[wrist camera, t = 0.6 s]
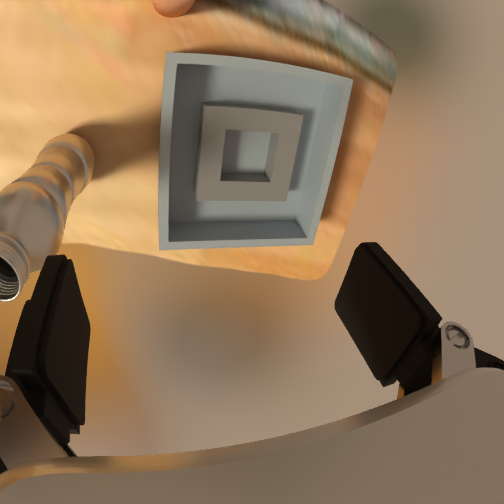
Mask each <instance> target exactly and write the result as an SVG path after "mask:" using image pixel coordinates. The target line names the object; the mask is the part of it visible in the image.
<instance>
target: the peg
mask: <svg viewBox="0 0 504 504" xmlns="http://www.w3.org/2000/svg"><path fill="white" fill-rule="evenodd" d="M194 2H195V0H153V4H154V7H155V9H156V11H157V12H158V13H159V14H161V15H163V16H165V17H178V16H181V15H183V14H185V13H186V12H188V11H189V10H190V9H191V7H192V5H193V4H194Z"/></svg>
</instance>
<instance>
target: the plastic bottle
mask: <svg viewBox="0 0 504 504" xmlns="http://www.w3.org/2000/svg"><path fill="white" fill-rule="evenodd" d="M93 170H94V154H93V151H92V148H91V146H90V145H89V143H88V142H87V141H86V140H85V139H84V138H82V137H81V136H79V135H76V134H63V135H60V136H57V137H54V138H53V139H51V140H50V141H48V142H47V143H46V144H45V146H44V147H43V148H42V150H41V152H40V153H39V155H38V157H37V159H36V161H35V162H34V164H33V165H32V166H31V168H30V169H29V170H27V171H26V172H25V173H24V174H23V175H22V176H21V177H19V178H18V179H16V180H15V181H13V182H12V183H11V184H9V185H8V186H6V187H5V188H4V189H2V190H1V191H0V301H3V302H8V301H12V300H14V299H16V298H17V297H18V295H19V294H20V292H21V290H22V288H23V285H24V284H25V283H26V281H27V279H28V277H29V275H30V273H32V272H35V271H38V270H40V269H42V267H43V264H44V262H45V259H46V257H47V256H48V255H56V254H57V253H58V251H59V248H60V246H61V242H62V239H63V234H64V229H65V224H66V219H67V215H68V212H69V210H70V207H71V205H72V203H73V201H74V200H75V198H76V197H77V196H78V195H79V194H80V193H81V192H82V191H83V190H84V189H85V187H86V186H87V185H88V184H89V182H90V180H91V178H92V175H93Z"/></svg>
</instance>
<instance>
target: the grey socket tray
mask: <svg viewBox="0 0 504 504" xmlns="http://www.w3.org/2000/svg"><path fill="white" fill-rule="evenodd" d="M353 80H354V79H350V78H347V77H343V76H339V75H335V74H331V73H327V72H323V71H318V70H314V69H309V68H304V67H300V66H294V65H289V64H284V63H278V62H272V61H265V60H258V59H251V58H243V57H234V56H224V55H212V54H198V53H171V52H167V53H166V62H165V72H164V82H163V94H162V108H161V125H160V146H159V189H158V212H159V250H180V249H207V248H236V247H265V246H295V245H313V243H314V239H315V236H316V232H317V228H318V225H319V221H320V218H321V214H322V210H323V206H324V203H325V199H326V195H327V191H328V187H329V184H330V180H331V176H332V172H333V168H334V164H335V160H336V156H337V151H338V147H339V143H340V139H341V135H342V130H343V126H344V122H345V117H346V113H347V108H348V103H349V99H350V94H351V89H352V84H353Z"/></svg>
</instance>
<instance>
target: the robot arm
mask: <svg viewBox="0 0 504 504" xmlns="http://www.w3.org/2000/svg"><path fill="white" fill-rule="evenodd" d="M335 310H336V312H337V314H338V315H339V317H340V319H341V320H342V322H343V324H344V325H345V327H346V329H347V330H348V332H349V334H350V335H351V337H352V339H353V340H354V342H355V344H356V346H357V347H358V349H359V351H360V353H361V354H362V356H363V357H364V359H365V361H366V363H367V365H368V366H369V368H370V370H371V372H372V373H373V375H374V377H375V378H376V379H377V380H379V381H380V382H381V384H382V386H383V387H385V386H388V385H391V384H394V383H395V382H396V380H398V381H399V383H400V384H399V389H398V395H397V400H394V401H392V402H389V403H387V404H384V405H381V406H379V407H376V408H373V409H370V410H368V411H365V412H362V413H359V414H357V415H354V416H350V417H347V418H345V419H341V420H338V421H335V422H332V423H328V424H325V425H321V426H318V427H314V428H311V429H307V430H303V431H300V432H296V433H291V434H288V435H283V436H279V437H275V438H270V439H265V440H260V441H255V442H250V443H245V444H239V445H234V446H227V447H221V448H214V449H206V450H198V451H190V452H179V453H169V454H168V453H167V454H155V455H139V456H92V457H78V456H77V455H76V454H75V452H74V451H73V450H72V449H71V448H70V446H69V445H68V443H69V442H70V434H80V425H84V423H85V396H86V376H87V361H88V349H89V340H90V322H89V319H88V316H87V312H86V309H85V306H84V303H83V299H82V296H81V292H80V289H79V285H78V281H77V277H76V273H75V270H74V266H73V262H72V260H71V259H67V258H66V256H65V255H48V256H47V257H46V259H45V262H44V264H43V267H42V270H41V272H40V275H39V278H38V280H37V283H36V286H35V289H34V291H33V295H32V297H31V300H27V301H26V303H25V305H24V307H23V310H22V313H21V316H20V320H19V323H18V326H17V329H16V333H15V336H14V340H13V344H12V348H11V351H10V356H9V359H8V364H7V369H6V372H5V376H4V375H0V504H504V361H503V360H501V359H499V358H497V357H495V356H493V355H490V354H488V353H486V352H484V351H481V350H479V349H477V348H475V347H474V345H473V340H472V337H471V335H470V334H469V332H468V331H467V330H466V329H465V328H464V327H462V326H461V325H459V324H458V323H455V322H446V323H444V324H443V325H442V327H441V328H439V326H438V324H439V323H440V321H441V320H442V317H441V316H440V315H439V313H438V312H437V311H436V310H435V308H434V307H433V306H432V305H431V304H430V302H429V301H428V300H427V299H426V298H425V296H424V295H423V294H422V293H421V292H420V290H419V289H418V288H417V287H416V286H415V284H414V283H413V282H412V281H411V280H410V279H409V277H408V276H407V275H406V274H405V273H404V272H403V271H402V269H401V268H400V267H399V266H398V265H397V264H396V263H395V262H394V261H393V259H392V258H391V257H390V256H389V255H388V254H387V253H386V252H385V251H384V250H383V248H382V247H381V246H380V245H379V244H378V243H376V242H365V243H361V244H360V245H359V246H358V247H357V248H356V249H355V251H354V254H353V257H352V259H351V262H350V265H349V268H348V270H347V272H346V275H345V278H344V280H343V283H342V285H341V288H340V290H339V293H338V295H337V298H336V300H335Z"/></svg>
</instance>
